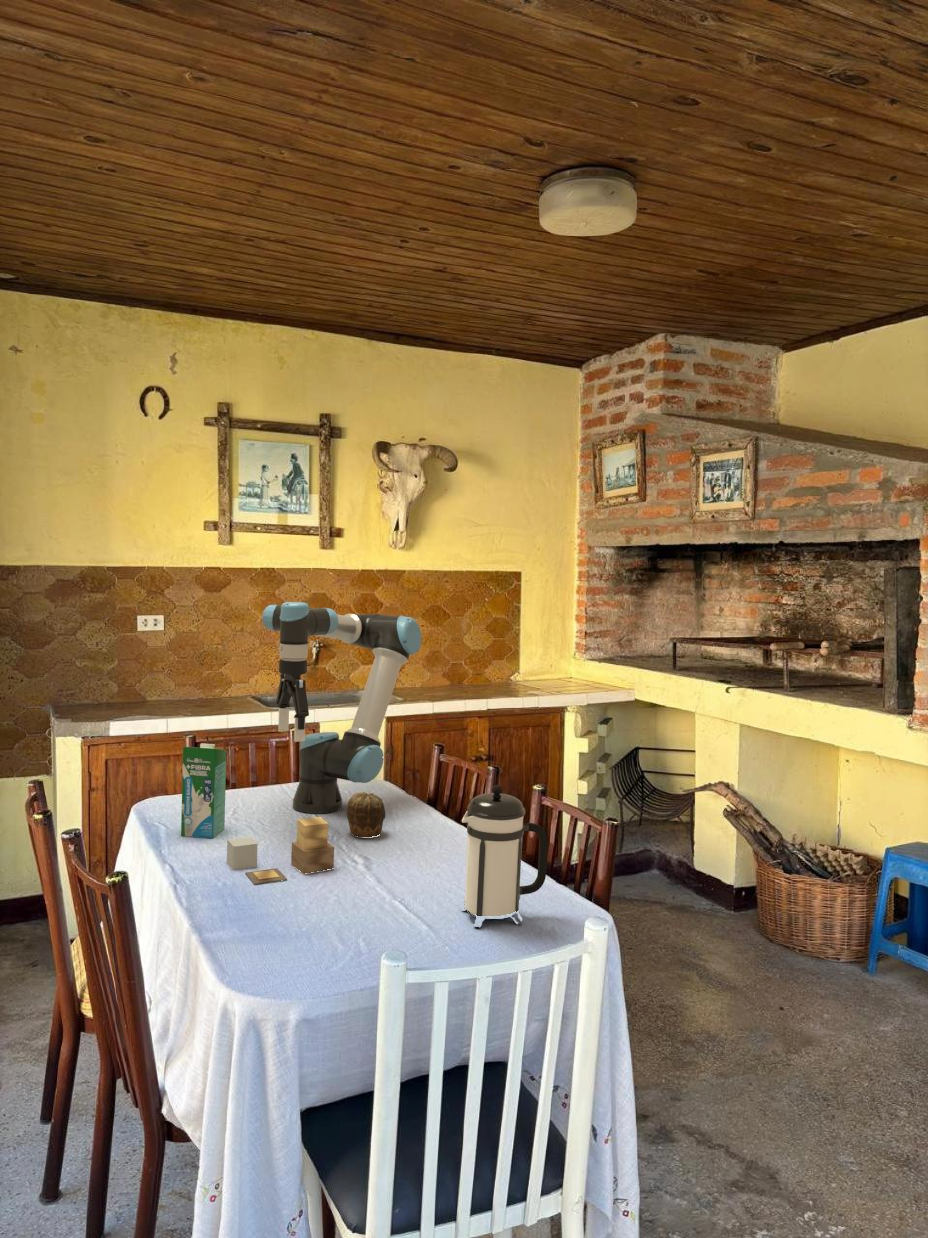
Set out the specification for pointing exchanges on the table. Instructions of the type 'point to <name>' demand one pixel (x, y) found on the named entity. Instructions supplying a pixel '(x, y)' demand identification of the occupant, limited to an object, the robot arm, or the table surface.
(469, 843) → the coffee press
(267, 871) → the tile
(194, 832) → the milk carton
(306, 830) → the maple cube
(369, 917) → the table surface
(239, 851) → the beige cube
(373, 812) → the shell
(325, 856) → the walnut block
